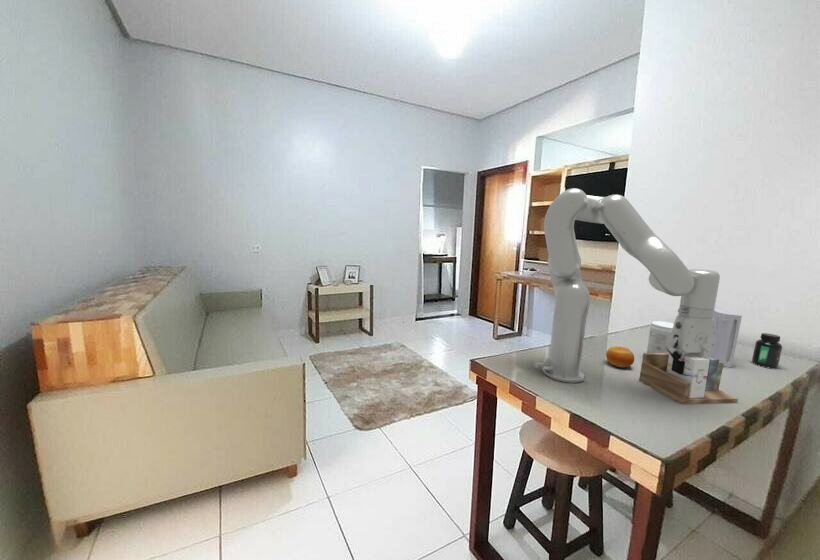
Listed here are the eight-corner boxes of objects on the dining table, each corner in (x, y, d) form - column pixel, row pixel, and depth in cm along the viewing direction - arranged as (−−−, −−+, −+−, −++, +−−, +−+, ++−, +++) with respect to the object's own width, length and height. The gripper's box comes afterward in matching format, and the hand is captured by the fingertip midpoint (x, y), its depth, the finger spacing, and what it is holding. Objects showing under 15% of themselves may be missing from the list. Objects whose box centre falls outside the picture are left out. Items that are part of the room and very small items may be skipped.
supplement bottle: (763, 368, 121) (770, 337, 119) (746, 361, 128) (752, 331, 126) (783, 369, 121) (790, 338, 119) (765, 362, 127) (771, 332, 126)
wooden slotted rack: (682, 404, 92) (688, 366, 90) (639, 379, 107) (644, 347, 105) (737, 402, 94) (745, 366, 92) (688, 379, 109) (693, 347, 107)
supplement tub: (669, 358, 127) (675, 322, 125) (682, 368, 118) (689, 329, 116) (641, 355, 129) (646, 319, 127) (651, 364, 120) (658, 326, 118)
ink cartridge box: (663, 384, 101) (669, 339, 99) (678, 384, 102) (684, 338, 99) (689, 398, 93) (696, 349, 90) (705, 398, 93) (712, 349, 91)
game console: (711, 365, 122) (721, 313, 119) (683, 343, 147) (691, 300, 144) (731, 368, 120) (742, 315, 117) (700, 345, 145) (708, 301, 142)
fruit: (611, 349, 125) (617, 336, 119) (634, 363, 119) (642, 351, 114) (598, 361, 122) (604, 349, 116) (622, 377, 116) (629, 365, 111)
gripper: (681, 315, 89) (671, 378, 92) (735, 315, 91) (724, 377, 94) (657, 309, 96) (649, 367, 99) (708, 309, 98) (698, 366, 101)
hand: (685, 371), depth 96 cm, fingers closed on ink cartridge box, 5 cm apart
